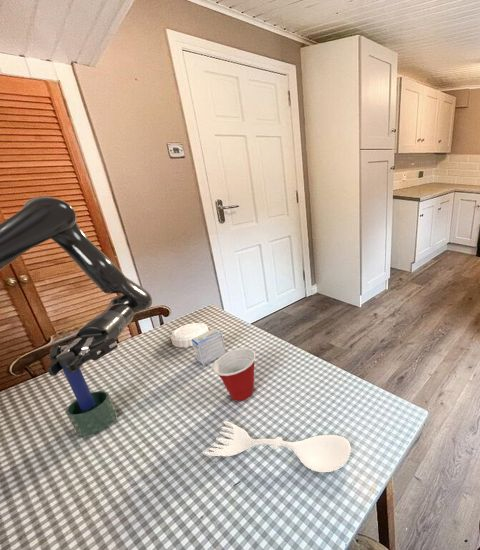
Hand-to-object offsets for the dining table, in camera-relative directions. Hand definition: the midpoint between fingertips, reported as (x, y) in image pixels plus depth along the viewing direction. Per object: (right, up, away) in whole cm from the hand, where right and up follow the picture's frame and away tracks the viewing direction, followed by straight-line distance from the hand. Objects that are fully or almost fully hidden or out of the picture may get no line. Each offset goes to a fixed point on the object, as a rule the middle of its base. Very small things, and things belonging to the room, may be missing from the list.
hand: (60, 370), depth 66 cm
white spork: (+48, -19, +2) cm, 52 cm away
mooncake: (+3, -2, +45) cm, 45 cm away
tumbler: (0, -17, +10) cm, 19 cm away
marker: (-1, -11, +7) cm, 13 cm away
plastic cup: (+32, -13, +19) cm, 39 cm away
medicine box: (+16, -7, +34) cm, 38 cm away
